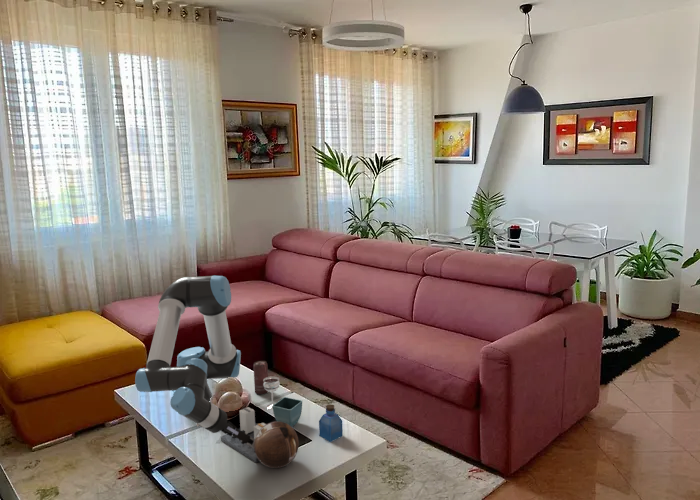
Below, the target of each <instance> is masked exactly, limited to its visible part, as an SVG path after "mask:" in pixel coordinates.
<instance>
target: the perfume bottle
mask: <svg viewBox="0 0 700 500" xmlns="http://www.w3.org/2000/svg"><path fill="white" fill-rule="evenodd" d="M343 430H344V429H343V419H342V418H341V417H340V415H339V414H337V413H336V408H335V405H334V404H327V405H326V406H325V413H324V414H322V415H321V417H320V418H319V420H318V432H319V437H320V438H322V439H323V440H326V441H328V443H331V442H333V441H336V440H338V439H339V437H340V438H341V437H343V435H344V433H343Z"/></svg>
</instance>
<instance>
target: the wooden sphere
mask: <svg viewBox="0 0 700 500" xmlns="http://www.w3.org/2000/svg"><path fill="white" fill-rule="evenodd" d="M265 424H266V425H265V426H263V427H262V428H261V429H260V430H259V432H258V433H257V435H256V438H255V442H254V449H255V454H256V456H257V458H258V459H259V462H260V463H261V464H262V465H264V466H265V467H268V468H271V469H281V468H284V467H285V466H287V465H289V464H290V463H291V462H293V460H294V459H295V458H296V456H297V453H298V450H299V447H300V446H299V444H300V442H299V436H298V434H297V432H296V430H295V429H294V428H293V426H292V427H291V426H290V425H288V424H287V423H284V422H280V421H276V420H275V421H270V422H268V423H265Z"/></svg>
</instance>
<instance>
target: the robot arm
mask: <svg viewBox="0 0 700 500" xmlns="http://www.w3.org/2000/svg"><path fill="white" fill-rule="evenodd" d="M231 303H232V291H231V285H230V282H229V280H228V279H227V277H226V276H223V275H215V274H214V275H205V276H204V275H203V276H199V275H198V276H182V277H180V278H178V279H176V280H174V281H173V282H172V283H171V284H170V285H169V286H167V287H166V289H165V290H164V291H163V293H162V294H161V297H160V298H159V302H158V305H157V309H158V311H159V313H158V317H157V321H156V325H155V329H154V332H153V336H152V341H151V345H150V350H149V353H148V358H147V363H146V367H143V368H139V369H137V371H136V373H135V379H134V383H135V389H137V391H138V392H141V393H142V392H143V393H146V392H147V393H152V392H167V391H169V392H170V391H171V392H172V391H174V392H173V394H172V396H171V397H170V403H169V404H170V407H171V409H173V410H174V411H175V412H176V413H178V414H179V415H180V416H183V417H185V418H186V419H188V420H189V421H192V422H194V423H195V424H196V427H202V428H204V429H205V430H207V431H209V432H211V433H212V434H217V433H219V432H220V431H221V432H222V433H223V434H224V435H226V434H228V435H230V436H232V435H233V436H234V437H236V438H238V439H240V440H241V441H242V442H241V443H242V444H244V443H246V444H247V445H249V446H251V447H252V448H254V442H255V439H254V438H252V437H250V436H249V435H247V434H245V431H244V430H243V431H240V430H239V429H240V428H238V427H237V426H236V425H235V424H233V422H231V421H229V420H228V414H227V412H226V411H224V410H223V409H222V408H219V407H218V406H217V405H216V404H214V403H212V402H209V401H210V398H211V397H212V398H213V392H212V391H211V389H210V387H209V384H208V380H217V379H219V380H221V379H222V380H223V379H229V378H228V377H233V378H238V376H239V375H240V367H241V357H242V356H241V355H242V352H241V350H239V349H237V348H236V346H235V345H234V344H232V340H231V336H230V335H231V334H230V330H229V328H230V327H229V324H228V319H227V318H228V317H227V312H226V310H227V309H228V307H229V306H230V305H231ZM188 308H197V310H198V312H199V313H200V314H201V315H202V316H203V319H204V324H205V328H206V329H205V330H206V334H207V339H208V344H209V349H208V351H206V349H205V348H204V347H203V346H202V347H201V346H195V347H190V348H186V349H184V350H182V351H181V352H180V353H178V354H177V356H176V357H177V358H176V360H177V361H176V366H171V365H172V360H173V359H172V358H173V354H174V350H175V344H176V341H177V335H178V331H179V327H180V322H181V317H182V315H183V314H184V313H185V311H186V309H188Z"/></svg>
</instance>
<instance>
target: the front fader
mask: <svg viewBox="0 0 700 500" xmlns="http://www.w3.org/2000/svg"><path fill="white" fill-rule="evenodd" d="M257 424H258V425H256V426H254V439H255V438H256V435H257V433H258V432H259V430H260V429H261V428H262V427H263V426H265V425H266V424H267V423H265V422H261V423H257Z"/></svg>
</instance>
